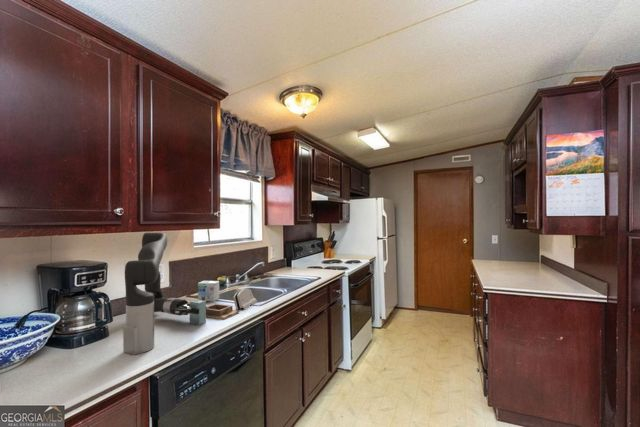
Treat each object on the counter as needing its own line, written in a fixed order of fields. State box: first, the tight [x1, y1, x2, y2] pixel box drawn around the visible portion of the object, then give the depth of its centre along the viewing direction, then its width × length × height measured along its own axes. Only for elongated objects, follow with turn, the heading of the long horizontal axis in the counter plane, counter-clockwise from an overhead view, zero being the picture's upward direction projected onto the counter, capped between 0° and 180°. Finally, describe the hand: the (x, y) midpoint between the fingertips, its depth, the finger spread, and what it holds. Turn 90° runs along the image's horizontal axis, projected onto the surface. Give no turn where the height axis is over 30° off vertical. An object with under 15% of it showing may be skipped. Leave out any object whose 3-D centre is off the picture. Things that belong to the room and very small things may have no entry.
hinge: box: [232, 288, 258, 311], centre depth 173 cm, size 17×5×10 cm, turn 168°
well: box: [206, 303, 240, 320], centre depth 157 cm, size 11×18×4 cm, turn 66°
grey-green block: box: [189, 299, 207, 326], centre depth 144 cm, size 4×6×10 cm, turn 66°
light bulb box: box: [197, 280, 220, 302], centre depth 186 cm, size 11×7×11 cm, turn 83°
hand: (202, 310), depth 143 cm, fingers closed on grey-green block, 4 cm apart
